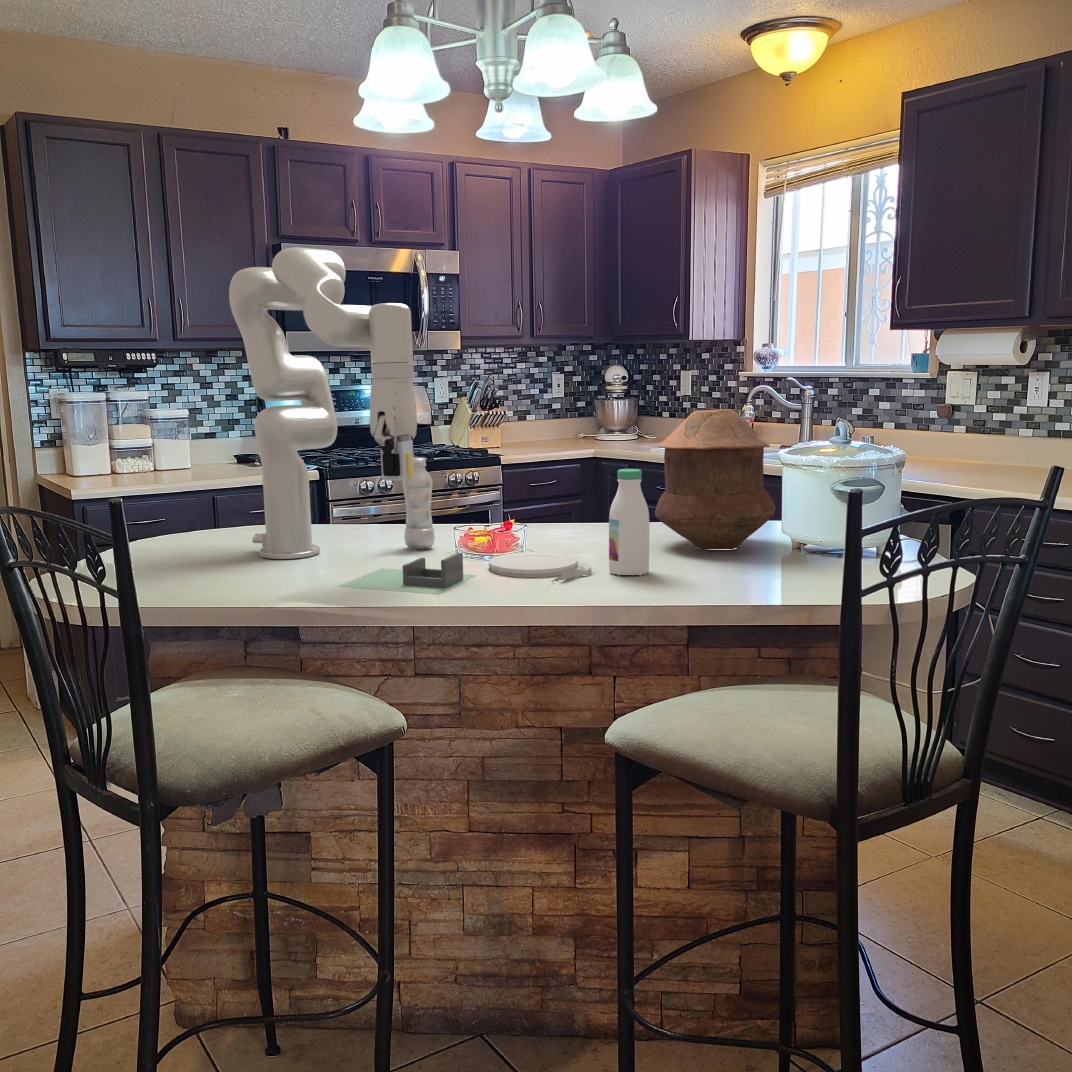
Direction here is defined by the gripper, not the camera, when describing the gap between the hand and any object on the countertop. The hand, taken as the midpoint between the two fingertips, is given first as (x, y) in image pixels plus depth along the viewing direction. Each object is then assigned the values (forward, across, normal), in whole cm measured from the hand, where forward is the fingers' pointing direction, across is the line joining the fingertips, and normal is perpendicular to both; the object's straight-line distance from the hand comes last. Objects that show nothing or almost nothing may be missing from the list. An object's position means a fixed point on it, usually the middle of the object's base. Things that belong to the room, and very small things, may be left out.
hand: (398, 473), depth 182 cm
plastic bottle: (+20, -31, -12) cm, 38 cm away
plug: (+1, 0, 0) cm, 1 cm away
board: (+20, +3, +3) cm, 21 cm away
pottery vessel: (+21, -51, +49) cm, 73 cm away
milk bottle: (+21, -21, +38) cm, 48 cm away
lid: (+21, -15, +22) cm, 34 cm away
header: (+19, +3, +8) cm, 21 cm away
